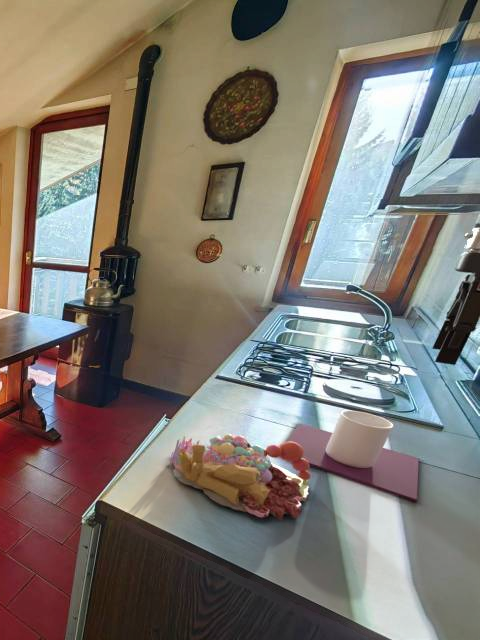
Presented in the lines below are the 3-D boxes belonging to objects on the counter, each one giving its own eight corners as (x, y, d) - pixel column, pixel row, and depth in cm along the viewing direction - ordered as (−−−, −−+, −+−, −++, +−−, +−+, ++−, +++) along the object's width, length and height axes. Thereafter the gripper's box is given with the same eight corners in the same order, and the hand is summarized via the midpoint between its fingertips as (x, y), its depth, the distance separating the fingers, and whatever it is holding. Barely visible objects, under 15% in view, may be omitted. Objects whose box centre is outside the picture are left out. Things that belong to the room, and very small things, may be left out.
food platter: (296, 541, 65) (316, 497, 62) (153, 480, 80) (163, 442, 77) (311, 478, 82) (327, 440, 79) (190, 437, 97) (200, 404, 94)
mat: (417, 460, 89) (419, 458, 89) (415, 502, 75) (417, 499, 75) (298, 425, 104) (299, 423, 104) (278, 454, 90) (279, 452, 90)
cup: (323, 458, 88) (340, 418, 84) (327, 439, 96) (343, 402, 92) (373, 473, 83) (394, 432, 79) (373, 452, 91) (392, 413, 87)
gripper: (457, 248, 86) (416, 341, 94) (469, 253, 70) (418, 365, 78) (513, 250, 81) (464, 348, 89) (538, 255, 65) (476, 374, 73)
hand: (442, 356), depth 83 cm, fingers open, 13 cm apart
